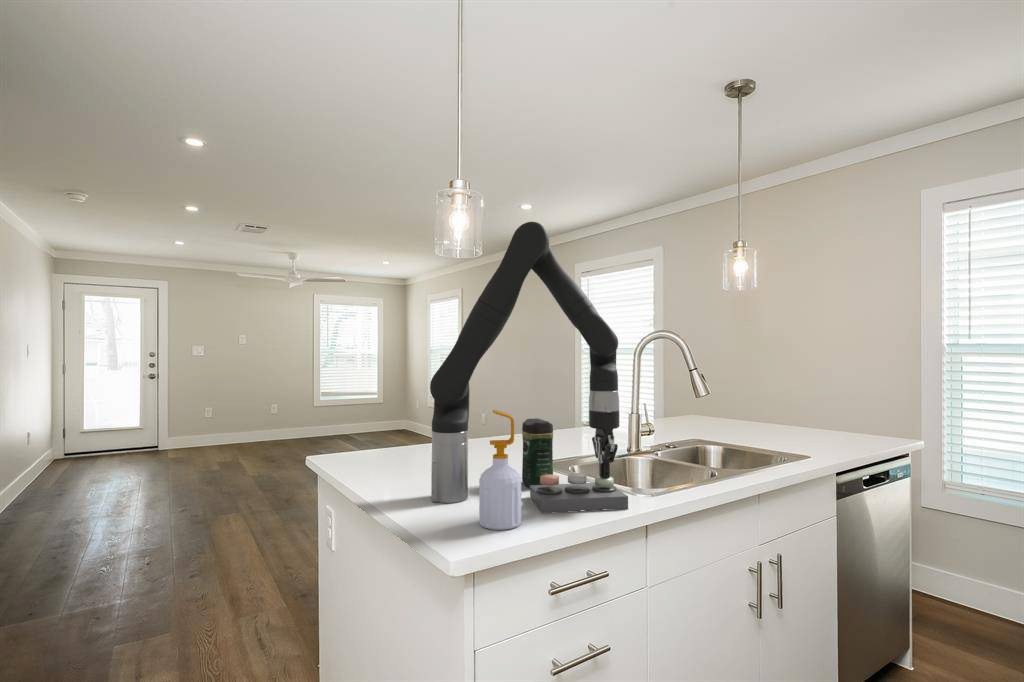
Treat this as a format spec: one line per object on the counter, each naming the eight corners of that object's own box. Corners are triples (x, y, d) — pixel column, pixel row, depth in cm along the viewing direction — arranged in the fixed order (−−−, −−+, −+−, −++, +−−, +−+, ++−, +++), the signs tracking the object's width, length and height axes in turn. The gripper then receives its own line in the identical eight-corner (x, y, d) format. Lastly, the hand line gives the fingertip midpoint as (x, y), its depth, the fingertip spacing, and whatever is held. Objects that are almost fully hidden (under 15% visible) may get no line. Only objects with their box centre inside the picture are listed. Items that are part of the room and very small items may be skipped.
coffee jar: (557, 488, 145) (557, 420, 145) (530, 490, 142) (530, 421, 143) (544, 480, 154) (544, 416, 154) (518, 482, 151) (518, 417, 152)
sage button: (598, 487, 129) (598, 480, 129) (592, 482, 133) (592, 476, 133) (616, 486, 130) (616, 479, 130) (609, 481, 134) (609, 475, 134)
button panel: (541, 513, 122) (541, 498, 122) (530, 497, 135) (530, 483, 136) (628, 509, 125) (628, 494, 125) (608, 493, 139) (608, 480, 139)
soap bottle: (478, 518, 118) (479, 408, 119) (519, 517, 119) (519, 408, 120) (479, 531, 109) (480, 412, 110) (523, 530, 110) (523, 412, 111)
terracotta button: (542, 485, 127) (542, 479, 127) (538, 481, 131) (538, 474, 131) (561, 485, 127) (560, 478, 127) (556, 480, 132) (556, 474, 132)
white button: (570, 484, 128) (570, 478, 128) (565, 480, 132) (565, 473, 132) (588, 483, 128) (588, 477, 128) (583, 479, 133) (583, 473, 133)
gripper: (581, 406, 138) (582, 472, 137) (598, 411, 125) (598, 485, 124) (609, 405, 139) (609, 471, 139) (628, 411, 126) (628, 483, 126)
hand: (604, 477), depth 132 cm, fingers closed
